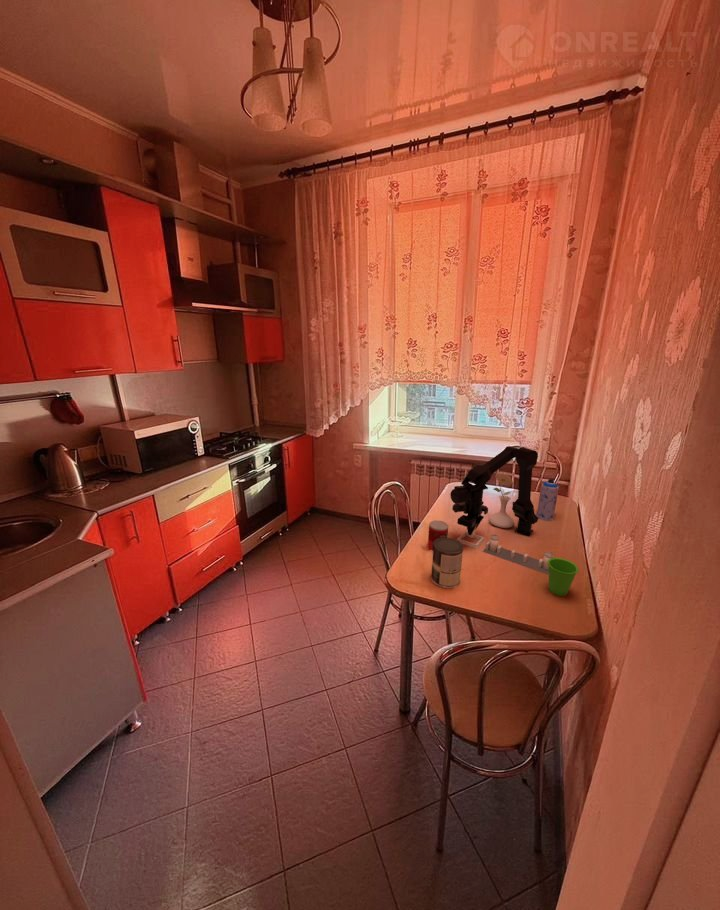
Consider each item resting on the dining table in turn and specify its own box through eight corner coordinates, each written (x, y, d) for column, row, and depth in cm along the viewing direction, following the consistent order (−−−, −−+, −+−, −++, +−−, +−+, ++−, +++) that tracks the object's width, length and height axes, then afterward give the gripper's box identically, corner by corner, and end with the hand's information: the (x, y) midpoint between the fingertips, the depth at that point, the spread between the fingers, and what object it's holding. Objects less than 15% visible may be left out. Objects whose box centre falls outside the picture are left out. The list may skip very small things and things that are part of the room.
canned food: (432, 555, 144) (434, 530, 141) (424, 544, 151) (425, 521, 148) (450, 552, 146) (452, 528, 143) (440, 542, 153) (442, 519, 150)
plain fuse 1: (490, 547, 148) (492, 534, 146) (498, 549, 146) (500, 536, 144) (488, 550, 145) (489, 537, 144) (495, 552, 144) (497, 539, 142)
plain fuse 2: (543, 564, 136) (545, 550, 134) (552, 567, 134) (554, 553, 132) (541, 568, 134) (543, 554, 132) (550, 571, 132) (553, 557, 130)
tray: (464, 535, 159) (465, 531, 158) (483, 542, 153) (484, 537, 153) (456, 543, 152) (456, 538, 151) (476, 550, 147) (476, 545, 146)
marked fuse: (469, 533, 154) (470, 520, 152) (476, 535, 152) (477, 523, 150) (466, 536, 152) (467, 523, 150) (473, 538, 150) (474, 525, 148)
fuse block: (489, 545, 151) (489, 538, 150) (557, 568, 135) (559, 560, 134) (482, 553, 145) (482, 546, 144) (552, 578, 129) (554, 570, 128)
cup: (562, 584, 126) (568, 557, 123) (578, 602, 117) (584, 573, 114) (537, 585, 126) (542, 557, 123) (551, 602, 117) (557, 573, 114)
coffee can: (425, 580, 128) (427, 545, 124) (439, 567, 135) (441, 534, 131) (452, 592, 122) (455, 556, 117) (465, 578, 129) (468, 543, 125)
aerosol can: (552, 522, 171) (559, 483, 166) (534, 518, 175) (541, 480, 170) (554, 516, 178) (561, 478, 172) (537, 512, 182) (543, 475, 176)
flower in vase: (519, 527, 166) (527, 477, 159) (500, 532, 162) (507, 480, 155) (499, 516, 178) (505, 468, 171) (480, 519, 174) (486, 471, 166)
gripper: (465, 488, 159) (462, 520, 163) (446, 501, 145) (443, 536, 149) (490, 494, 152) (486, 527, 157) (473, 509, 138) (469, 544, 143)
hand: (471, 533), depth 151 cm, fingers closed on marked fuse, 3 cm apart
